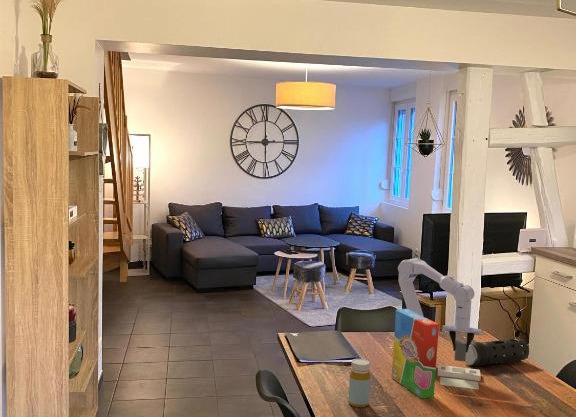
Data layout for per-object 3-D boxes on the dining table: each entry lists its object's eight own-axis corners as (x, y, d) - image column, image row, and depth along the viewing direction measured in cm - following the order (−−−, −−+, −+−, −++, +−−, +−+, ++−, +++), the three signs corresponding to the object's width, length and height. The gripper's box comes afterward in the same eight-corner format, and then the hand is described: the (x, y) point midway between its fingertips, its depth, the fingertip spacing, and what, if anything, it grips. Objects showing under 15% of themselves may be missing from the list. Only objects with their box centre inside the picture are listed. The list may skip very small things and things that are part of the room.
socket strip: (437, 376, 238) (438, 370, 237) (437, 370, 244) (438, 364, 244) (480, 382, 234) (480, 375, 233) (479, 375, 240) (479, 369, 240)
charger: (454, 360, 237) (455, 342, 236) (454, 357, 240) (455, 339, 240) (465, 361, 236) (466, 344, 235) (464, 358, 239) (466, 341, 239)
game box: (391, 378, 234) (394, 309, 232) (403, 376, 236) (407, 308, 234) (422, 399, 215) (426, 324, 213) (434, 397, 217) (439, 323, 215)
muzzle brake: (528, 365, 255) (530, 341, 254) (474, 372, 245) (476, 347, 244) (512, 358, 264) (514, 334, 263) (460, 364, 254) (461, 340, 253)
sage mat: (439, 385, 228) (440, 384, 228) (440, 378, 236) (440, 377, 236) (478, 391, 225) (478, 389, 225) (477, 383, 232) (477, 381, 232)
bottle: (346, 399, 212) (348, 358, 211) (366, 399, 213) (368, 358, 211) (350, 408, 205) (352, 365, 204) (370, 408, 206) (373, 365, 204)
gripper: (443, 317, 234) (441, 351, 236) (482, 321, 231) (480, 356, 232) (443, 313, 241) (441, 346, 242) (481, 316, 238) (479, 350, 239)
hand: (460, 350), depth 238 cm, fingers closed on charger, 4 cm apart
